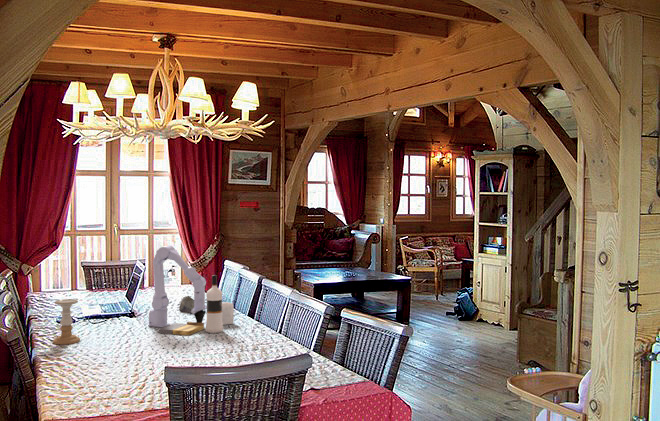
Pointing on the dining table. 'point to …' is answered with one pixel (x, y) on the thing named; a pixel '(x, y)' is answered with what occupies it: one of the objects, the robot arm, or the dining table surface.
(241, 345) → the game piece set
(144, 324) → the dining table surface
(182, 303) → the mineral rock
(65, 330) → the candle holder
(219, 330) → the vodka
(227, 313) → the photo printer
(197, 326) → the tan wooden flat block
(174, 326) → the grey flat block
